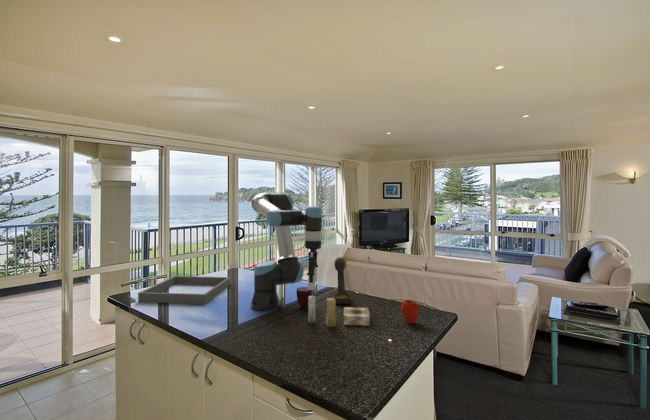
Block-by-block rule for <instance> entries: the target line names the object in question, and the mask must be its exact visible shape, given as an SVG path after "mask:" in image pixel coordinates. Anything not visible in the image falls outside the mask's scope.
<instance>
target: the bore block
mask: <svg viewBox="0 0 650 420" xmlns="http://www.w3.org/2000/svg"><path fill="white" fill-rule="evenodd" d="M343 326H371V316H370V310H369V307H351V306H350V307H349V306H344V307H343Z"/></svg>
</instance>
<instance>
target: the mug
mask: <svg viewBox="0 0 650 420" xmlns="http://www.w3.org/2000/svg"><path fill="white" fill-rule="evenodd" d="M312 290H313V289H308V286H300V287H297V288H296V299H297V304H298V307H299V308H300V309H301V310H308V296H313V291H312Z"/></svg>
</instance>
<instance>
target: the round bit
mask: <svg viewBox="0 0 650 420" xmlns="http://www.w3.org/2000/svg"><path fill="white" fill-rule="evenodd" d="M307 319H308V320H307V323H308V324H315V323H316V295H312V296H308V308H307Z"/></svg>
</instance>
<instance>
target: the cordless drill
mask: <svg viewBox="0 0 650 420" xmlns="http://www.w3.org/2000/svg"><path fill="white" fill-rule="evenodd" d="M333 265H334V268H335V271H336V272H337V290H335V292H334V297H333V298H334V299H335V300H336V305H350V303H351V301H350V300H351V297H350V296H351V294H350V292H349V290H348V289H346V286H345V273H344V272H345V269H346V267H347V260H346V258H344V257H343V256H342V257H341V256H338V257H336V258H335V259H334V264H333Z"/></svg>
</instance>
